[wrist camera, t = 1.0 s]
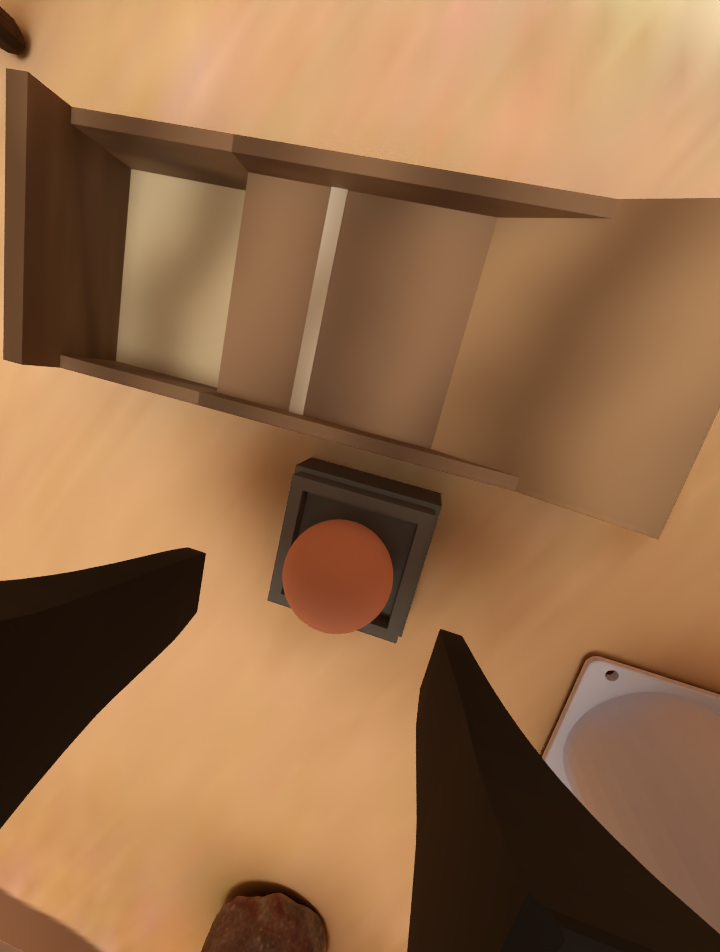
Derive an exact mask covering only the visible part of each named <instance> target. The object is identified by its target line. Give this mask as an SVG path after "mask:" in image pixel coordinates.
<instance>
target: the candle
mask: <svg viewBox="0 0 720 952" xmlns="http://www.w3.org/2000/svg"><path fill="white" fill-rule="evenodd" d="M201 952H326V940H325V929H324V926H323V923H322V921H321V919H320V918H319V916H318V915H317V914H316V913H315V912H313V911H312V910H311V909H310V908H309V907H306V906H304V905H302V904H297V903H296V902H295V901H293V900H292V899H290V898H289V897H287V896H286V895H284V894H282V893H273V894H270V895H267V896H264V897H261V896H255V897H246V896H237V897H235V898H234V899H233V900H232V901H230V902H227V903H225V905H224V906H223V907H222V908H221V910H220V912H219V913H218V914H217V916H216V918H215V919H214V921H213V923H212V926H211V929H210V931H209V933H208V936H207V938H206V940H205V943H204V945H203V948H202V951H201Z"/></svg>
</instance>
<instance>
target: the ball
mask: <svg viewBox="0 0 720 952" xmlns="http://www.w3.org/2000/svg"><path fill="white" fill-rule="evenodd" d="M282 582H283V589H284V593H285V597H286V599H287V602H288V603H289V605H290V607H291V609H292V610H293V612H294V613H295V614H296V615H297V616H298V618H299V619H300V620H302V621H303V622H304V623H305V624H307V625H308V626H310V627H312V628H314V629H316V630H318V631H321V632H325V633H331V634H343V633H349V632H353V631H355V630H358V629H361V628H362V627H364V626H366V625H367V624H369V623H370V622H372V621H373V620H374V619H375V618H376V617H377V616H378V615H379V614H380V612H381V611H382V610H383V608H384V607H385V605H386V603H387V601H388V599H389V596H390V594H391V590H392V586H393V566H392V562H391V558H390V555H389V552H388V550H387V548H386V546H385V545H384V544H383V542H382V541H381V539H380V538H379V537H378V536H377V535H376V534H375V533H374V532H373V531H372V530H370V529H369V528H367V527H366V526H364V525H362V524H359V523H357V522H354V521H350V520H342V519H334V520H327V521H324V522H320V523H318V524H316V525H314V526H312V527H310V528H308V529H307V530H306V531H304V532H303V533H302V534H301V535H300V536H299V537H298V538H297V539H296V540H295V541H294V543H293V544H292V546H291V547H290V549H289V551H288V553H287V556H286V558H285V562H284V566H283V573H282Z"/></svg>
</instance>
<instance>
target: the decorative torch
mask: <svg viewBox="0 0 720 952" xmlns="http://www.w3.org/2000/svg"><path fill="white" fill-rule="evenodd" d="M24 47H25V41H24V37H23V35H22V33H21V31H20V29H19V27H18V26H17V24H16V22H15V20H14V19H13V18H12V17H11V16H10V15H9V14H8V13H7V12H6V11H5V10H3V9H2V8H1V7H0V48H1V49H3V50H5V51H6V52H8V53H12V54H17V55H19V54H21V53H22V52H23V50H24Z"/></svg>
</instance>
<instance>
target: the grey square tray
mask: <svg viewBox="0 0 720 952" xmlns="http://www.w3.org/2000/svg"><path fill="white" fill-rule="evenodd" d="M440 510H441V494H440V493H436V492H433V491H429V490H426V489H422V488H419V487H415V486H411V485H408V484H404V483H401V482H397V481H393V480H390V479H386V478H383V477H379V476H376V475H372V474H368V473H365V472H361V471H358V470H354V469H351V468H347V467H343V466H340V465H336V464H333V463H329V462H326V461H322V460H318V459H315V458H309V459H307V460H305V461H303V462H301V463H299V464H297V465H296V469H295V474H294V475H293V477H292V482H291V487H290V492H289V497H288V502H287V507H286V512H285V517H284V521H283V526H282V531H281V536H280V541H279V546H278V551H277V556H276V561H275V566H274V571H273V576H272V581H271V586H270V591H269V596H268V601H271V602H274V603H277V604H280V605H283V606H286V607H289V608H291V607H290V605H289V603H288V602H287V599H286V597H285V593H284V589H283V582H282V573H283V566H284V562H285V558H286V556H287V553H288V551H289V549H290V547H291V546H292V544H293V543H294V541H295V540H296V539H297V538H298V537H299V536H300V535H301V534H302V533H303V532H304V531H306V530H307V529H308V528H310V527H312V526H314V525H316V524H318V523H320V522H324V521H327V520H334V519H342V520H350V521H354V522H357V523H359V524H362V525H364V526H366V527H367V528H369V529H370V530H372V531H373V532H374V533H375V534H376V535H377V536H378V537H379V538H380V539H381V541H382V542H383V544H384V545H385V546H386V548H387V550H388V552H389V555H390V558H391V562H392V566H393V586H392V590H391V594H390V596H389V599H388V601H387V603H386V605H385V607H384V608H383V610H382V611H381V612H380V614H379V615H378V616H377V617H376V618H375V619H374V620H373V621H372V622H370V623H369V624H367V625H366V626H364V627H362V628H361V629H358V630H357V631H360V632H363V633H366V634H369V635H372V636H375V637H378V638H381V639H384V640H387V641H390V642H393V643H396V642H397V639H398V636H399V637H401V636H402V633H403V630H404V627H405V623H406V620H407V617H408V614H409V610H410V607H411V604H412V601H413V597H414V594H415V591H416V588H417V584H418V581H419V578H420V575H421V571H422V568H423V565H424V562H425V558H426V555H427V552H428V549H429V545H430V542H431V539H432V536H433V532H434V529H435V526H436V523H437V519H438V516H439V513H440Z"/></svg>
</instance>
